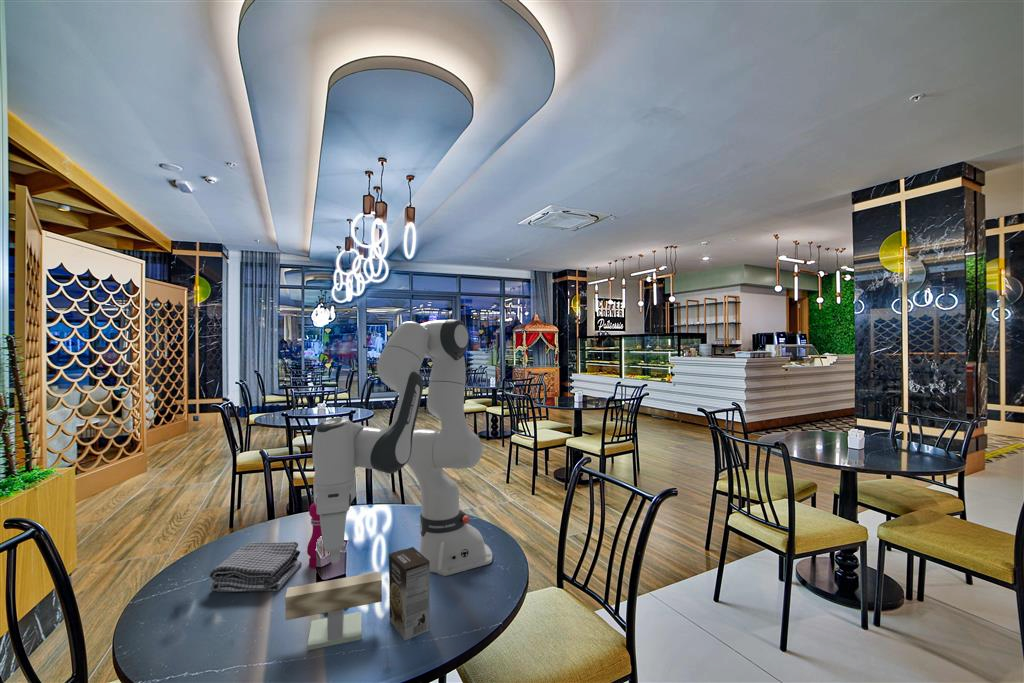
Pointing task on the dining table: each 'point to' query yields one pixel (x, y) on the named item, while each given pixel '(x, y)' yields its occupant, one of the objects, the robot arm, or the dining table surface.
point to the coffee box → (409, 592)
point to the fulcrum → (335, 629)
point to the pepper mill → (314, 535)
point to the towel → (257, 567)
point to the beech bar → (333, 595)
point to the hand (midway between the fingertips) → (336, 551)
